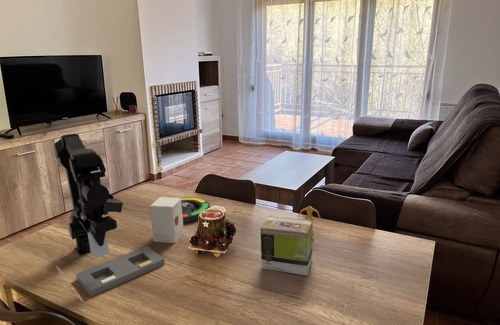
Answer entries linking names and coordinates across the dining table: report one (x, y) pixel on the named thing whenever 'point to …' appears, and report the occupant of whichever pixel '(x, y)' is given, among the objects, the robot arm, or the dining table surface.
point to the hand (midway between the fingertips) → (98, 243)
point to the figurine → (309, 212)
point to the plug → (97, 246)
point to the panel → (119, 270)
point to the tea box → (286, 244)
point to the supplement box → (167, 220)
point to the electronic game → (192, 207)
